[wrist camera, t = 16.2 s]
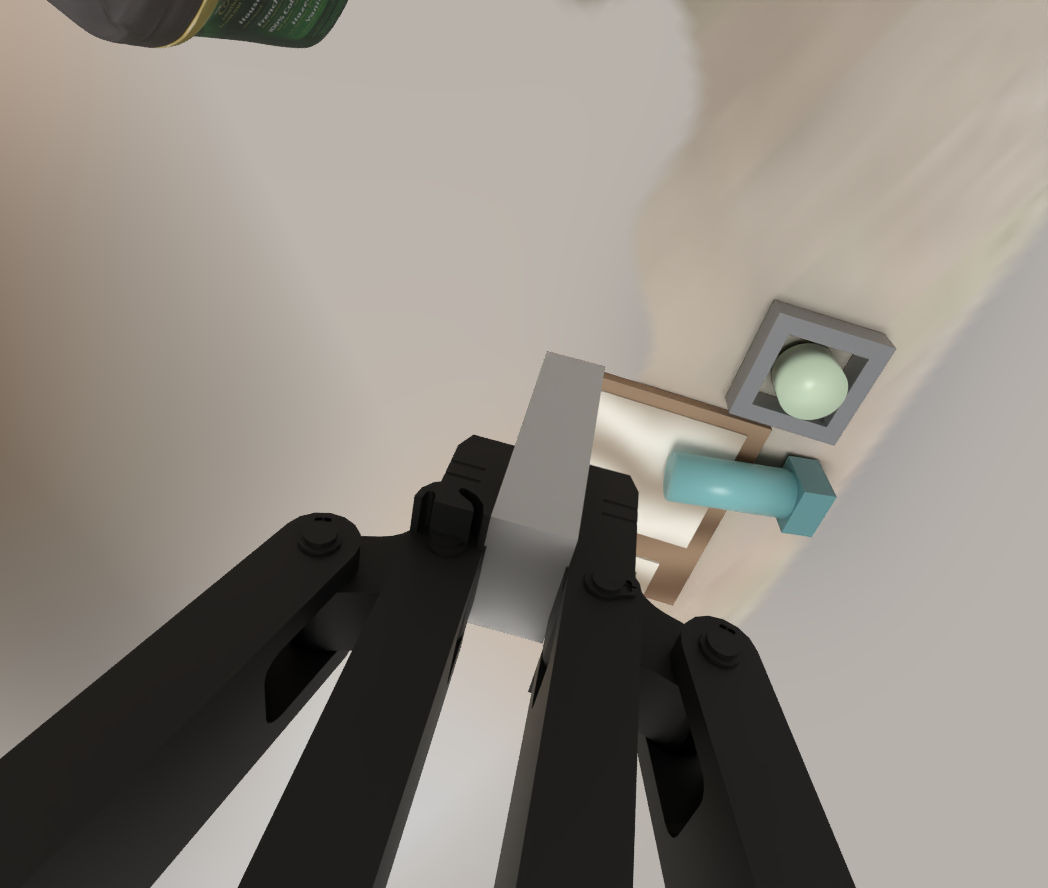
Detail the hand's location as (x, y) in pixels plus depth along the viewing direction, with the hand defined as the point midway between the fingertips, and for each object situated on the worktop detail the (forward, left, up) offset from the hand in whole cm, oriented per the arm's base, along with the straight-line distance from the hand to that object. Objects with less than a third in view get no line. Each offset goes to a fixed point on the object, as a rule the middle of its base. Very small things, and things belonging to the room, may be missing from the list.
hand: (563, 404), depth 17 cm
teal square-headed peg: (+18, +11, -27) cm, 34 cm away
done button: (+8, +17, -30) cm, 35 cm away
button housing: (+8, +17, -31) cm, 36 cm away
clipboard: (+23, +9, -31) cm, 39 cm away
